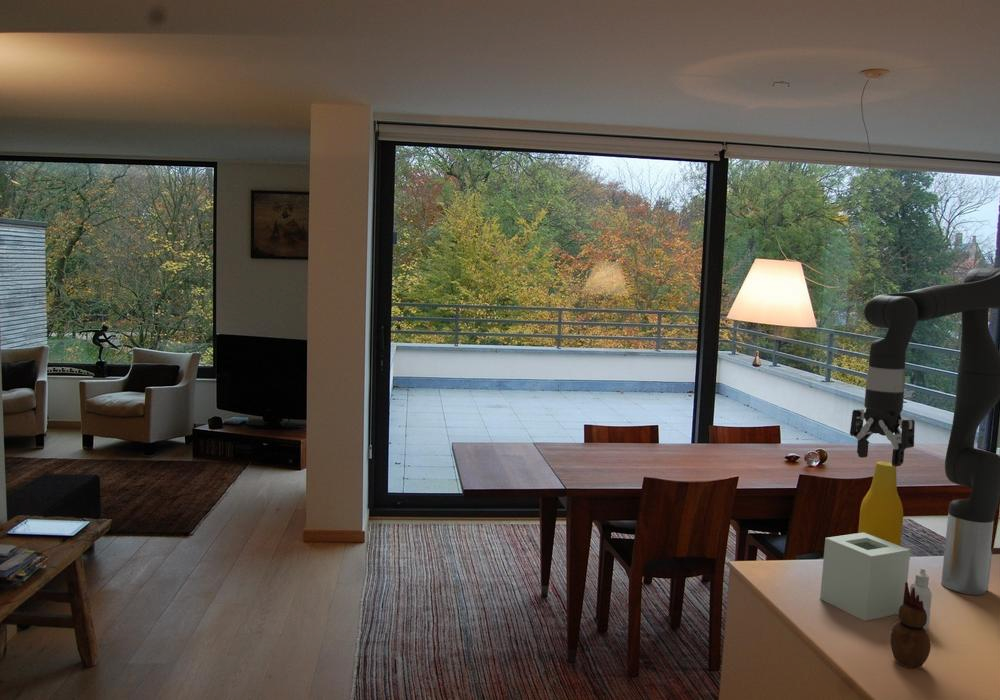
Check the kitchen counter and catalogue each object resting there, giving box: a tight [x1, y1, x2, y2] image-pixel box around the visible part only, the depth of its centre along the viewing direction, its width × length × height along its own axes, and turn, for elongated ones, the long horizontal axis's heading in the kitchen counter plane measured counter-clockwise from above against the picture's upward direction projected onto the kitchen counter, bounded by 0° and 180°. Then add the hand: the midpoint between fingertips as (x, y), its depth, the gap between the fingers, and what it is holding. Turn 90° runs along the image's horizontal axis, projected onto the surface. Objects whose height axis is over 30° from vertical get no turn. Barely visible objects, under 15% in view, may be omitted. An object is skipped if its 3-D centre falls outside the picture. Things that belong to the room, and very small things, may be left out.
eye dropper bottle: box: [909, 567, 933, 630], centre depth 166 cm, size 4×6×12 cm
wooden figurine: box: [889, 581, 932, 669], centre depth 148 cm, size 7×6×15 cm
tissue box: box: [819, 532, 911, 622], centre depth 174 cm, size 12×12×14 cm
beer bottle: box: [857, 461, 904, 546], centre depth 187 cm, size 9×9×29 cm
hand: (879, 461), depth 174 cm, fingers open, 8 cm apart
